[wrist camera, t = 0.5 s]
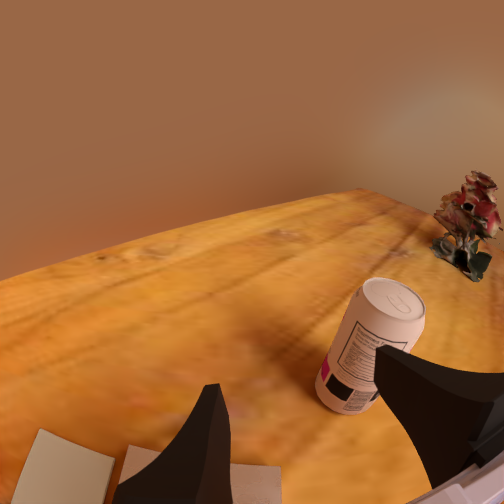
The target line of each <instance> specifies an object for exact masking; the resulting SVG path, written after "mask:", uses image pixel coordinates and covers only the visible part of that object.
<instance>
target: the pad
mask: <svg viewBox="0 0 504 504" xmlns="http://www.w3.org/2000/svg"><path fill="white" fill-rule="evenodd" d="M114 463H115V458H113V457H110V456H107V455H104V454H101V453H98V452H95V451H92V450H90V449H87V448H84V447H82V446H79V445H77V444H74V443H72V442H70V441H67V440H65V439H63V438H60V437H58V436H56V435H54V434H52V433H49V432H47V431H45V430H43V429H41V428H40V429H39V432H38V434H37V436H36V438H35V441H34V443H33V445H32V448H31V450H30V453H29V455H28V457H27V460H26V462H25V465H24V468H23V470H22V473H21V475H20V478H19V481H18V484H17V487H16V489H15V492H14V495H13V498H12V502H11V504H104V500H105V496H106V492H107V489H108V485H109V481H110V477H111V474H112V470H113V467H114Z"/></svg>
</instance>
